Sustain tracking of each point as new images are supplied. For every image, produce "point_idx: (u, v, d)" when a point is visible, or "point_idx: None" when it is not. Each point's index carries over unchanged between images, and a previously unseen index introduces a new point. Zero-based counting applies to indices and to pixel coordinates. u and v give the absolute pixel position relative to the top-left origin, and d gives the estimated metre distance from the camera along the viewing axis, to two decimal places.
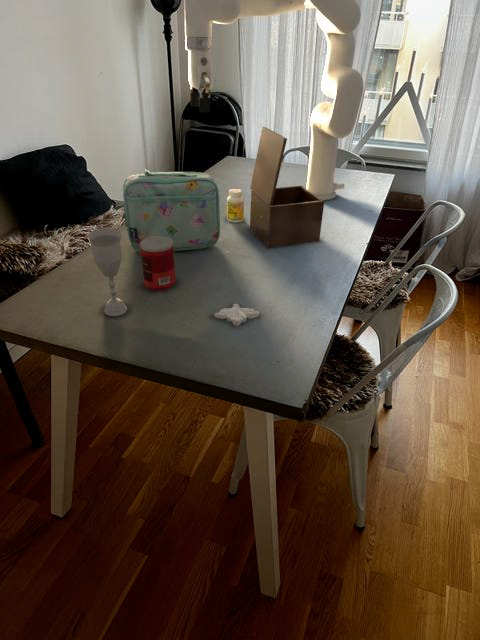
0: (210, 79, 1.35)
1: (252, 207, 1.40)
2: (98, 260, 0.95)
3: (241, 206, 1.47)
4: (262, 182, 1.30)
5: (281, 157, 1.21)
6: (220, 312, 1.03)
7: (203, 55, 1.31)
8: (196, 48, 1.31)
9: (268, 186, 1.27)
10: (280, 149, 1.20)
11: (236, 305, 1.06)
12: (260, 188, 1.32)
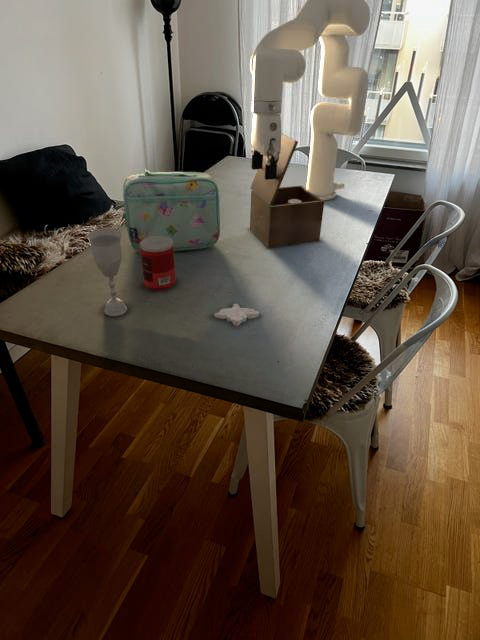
0: (279, 145, 1.21)
1: (252, 207, 1.40)
2: (98, 260, 0.95)
3: None
4: (265, 182, 1.31)
5: (289, 159, 1.22)
6: (220, 312, 1.03)
7: (273, 120, 1.18)
8: (265, 112, 1.17)
9: (271, 186, 1.27)
10: (289, 151, 1.21)
11: (236, 305, 1.06)
12: (261, 188, 1.32)
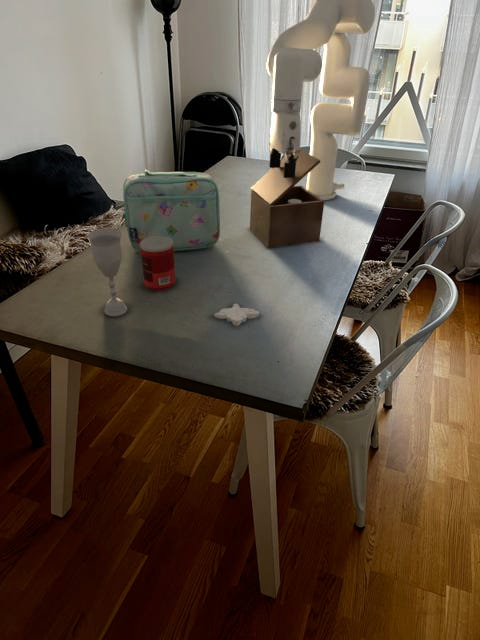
0: (298, 143, 1.23)
1: (252, 207, 1.40)
2: (98, 260, 0.95)
3: None
4: (270, 186, 1.32)
5: (306, 172, 1.26)
6: (220, 312, 1.03)
7: (293, 119, 1.19)
8: (285, 111, 1.19)
9: (277, 190, 1.28)
10: (309, 166, 1.26)
11: (236, 305, 1.06)
12: (265, 189, 1.32)
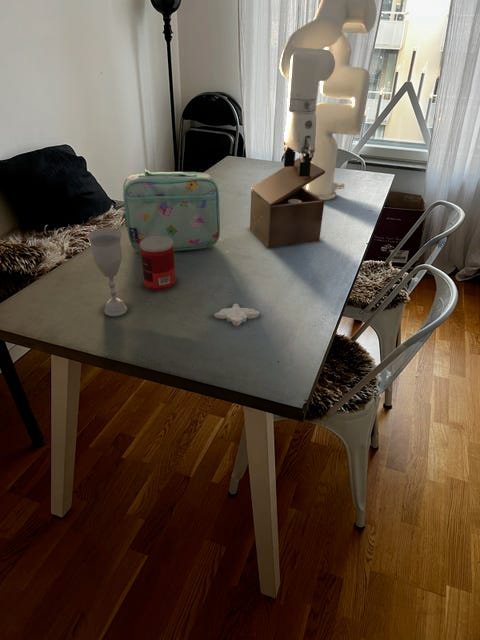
0: (313, 142, 1.24)
1: (252, 207, 1.40)
2: (98, 260, 0.95)
3: None
4: (272, 188, 1.32)
5: (310, 180, 1.27)
6: (220, 312, 1.03)
7: (308, 118, 1.21)
8: (301, 111, 1.20)
9: (279, 192, 1.29)
10: (314, 175, 1.28)
11: (236, 305, 1.06)
12: (266, 190, 1.33)
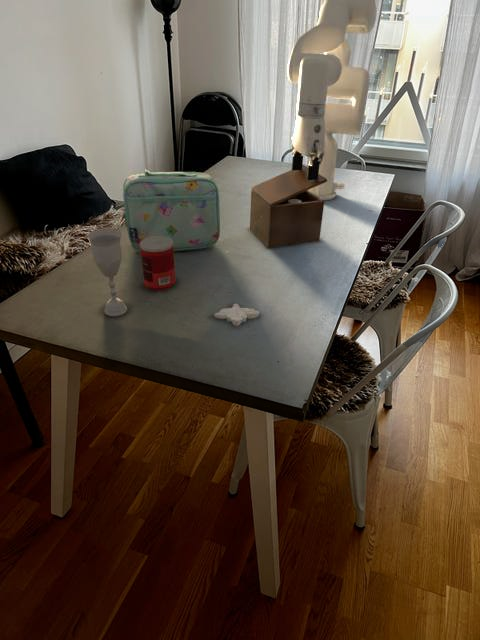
0: (322, 146, 1.25)
1: (252, 207, 1.40)
2: (98, 260, 0.95)
3: None
4: (273, 189, 1.33)
5: (312, 186, 1.28)
6: (220, 312, 1.03)
7: (317, 122, 1.22)
8: (310, 115, 1.22)
9: (280, 194, 1.29)
10: (316, 182, 1.29)
11: (236, 305, 1.06)
12: (266, 191, 1.33)
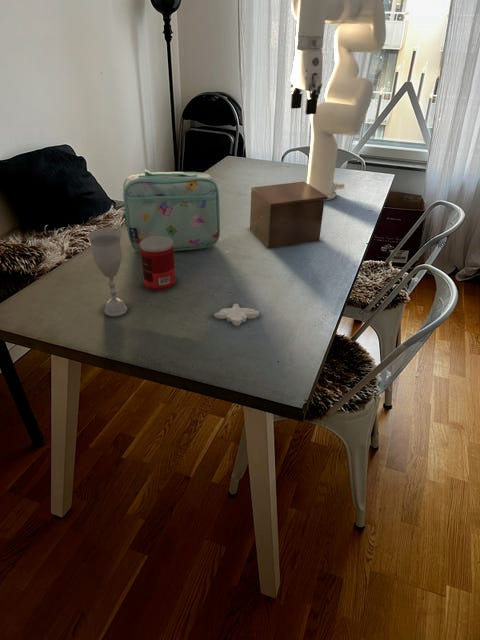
0: (320, 80, 1.30)
1: (252, 207, 1.40)
2: (98, 260, 0.95)
3: None
4: (273, 193, 1.34)
5: (312, 199, 1.31)
6: (220, 312, 1.03)
7: (315, 55, 1.26)
8: (309, 48, 1.26)
9: (281, 198, 1.30)
10: (317, 196, 1.32)
11: (236, 305, 1.06)
12: (267, 194, 1.33)
